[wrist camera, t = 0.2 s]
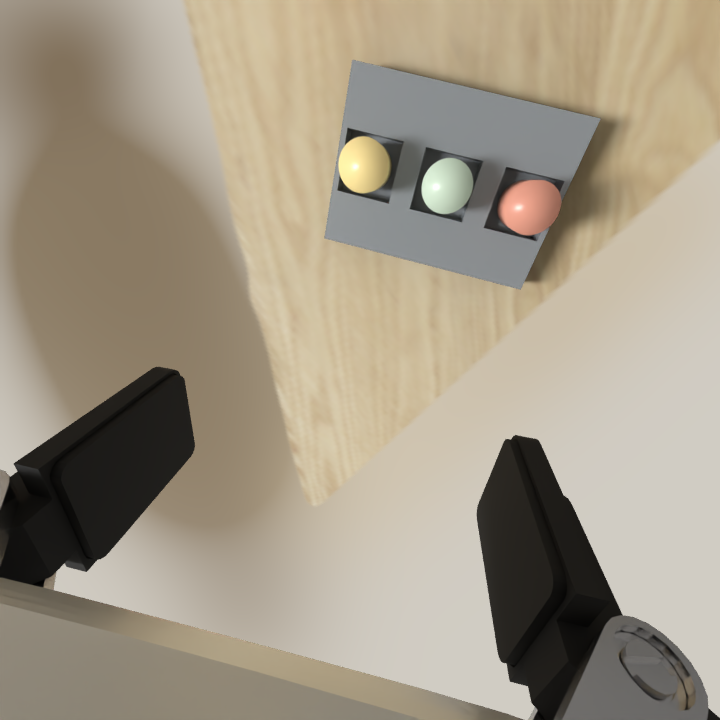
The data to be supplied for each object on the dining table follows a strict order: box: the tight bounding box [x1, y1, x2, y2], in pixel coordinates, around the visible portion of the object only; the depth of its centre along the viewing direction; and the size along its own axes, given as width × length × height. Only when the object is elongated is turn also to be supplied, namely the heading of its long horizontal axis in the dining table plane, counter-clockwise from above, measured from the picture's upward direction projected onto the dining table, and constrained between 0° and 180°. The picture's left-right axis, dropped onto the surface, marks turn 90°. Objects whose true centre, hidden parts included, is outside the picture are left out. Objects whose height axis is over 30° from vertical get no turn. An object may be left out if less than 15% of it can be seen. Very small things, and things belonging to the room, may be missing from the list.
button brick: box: [497, 180, 561, 235], centre depth 29 cm, size 4×4×4 cm
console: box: [325, 60, 600, 290], centre depth 32 cm, size 14×20×3 cm
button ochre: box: [338, 136, 392, 193], centre depth 29 cm, size 4×4×4 cm
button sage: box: [422, 158, 473, 214], centre depth 29 cm, size 4×4×4 cm
